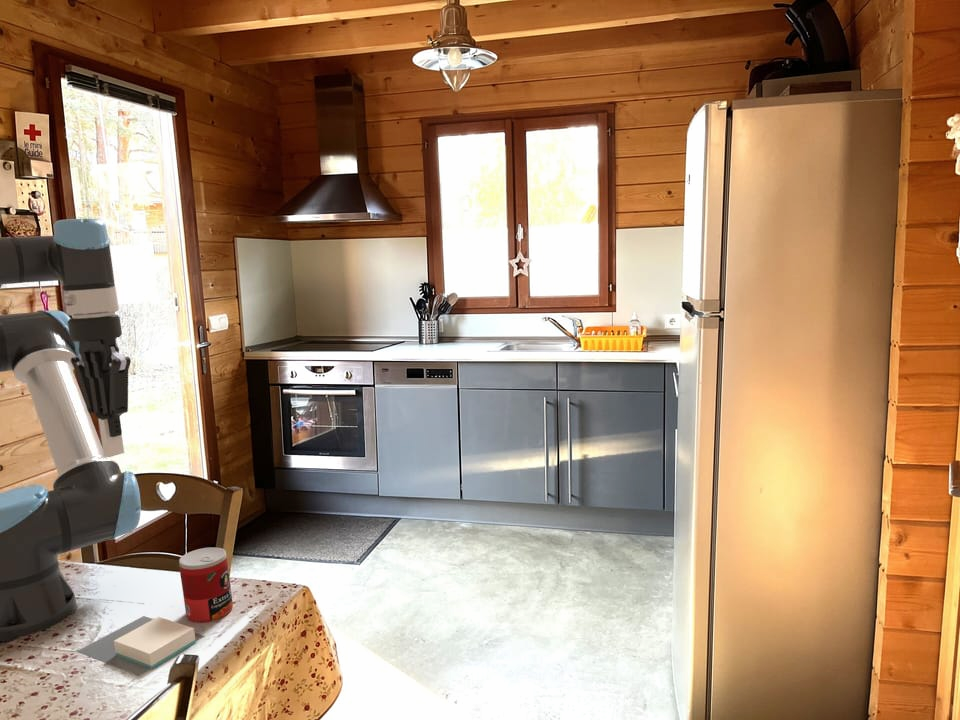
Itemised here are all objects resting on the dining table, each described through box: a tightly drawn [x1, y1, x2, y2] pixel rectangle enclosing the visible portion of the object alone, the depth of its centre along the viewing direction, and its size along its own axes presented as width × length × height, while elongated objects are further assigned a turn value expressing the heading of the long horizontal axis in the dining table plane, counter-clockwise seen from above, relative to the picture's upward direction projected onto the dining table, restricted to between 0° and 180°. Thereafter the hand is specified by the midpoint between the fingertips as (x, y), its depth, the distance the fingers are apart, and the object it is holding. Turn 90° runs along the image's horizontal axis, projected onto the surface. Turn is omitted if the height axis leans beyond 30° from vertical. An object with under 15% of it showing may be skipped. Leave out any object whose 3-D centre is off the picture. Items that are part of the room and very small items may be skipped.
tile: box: [114, 616, 197, 670], centre depth 114 cm, size 2×8×9 cm
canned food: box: [178, 546, 234, 624], centre depth 124 cm, size 8×8×11 cm
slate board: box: [76, 615, 205, 677], centre depth 116 cm, size 16×12×1 cm
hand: (114, 454), depth 119 cm, fingers closed
